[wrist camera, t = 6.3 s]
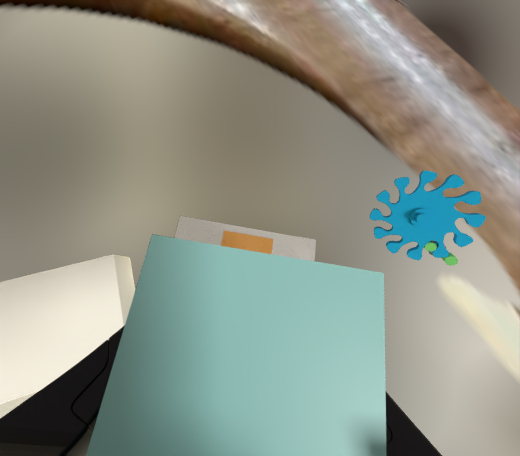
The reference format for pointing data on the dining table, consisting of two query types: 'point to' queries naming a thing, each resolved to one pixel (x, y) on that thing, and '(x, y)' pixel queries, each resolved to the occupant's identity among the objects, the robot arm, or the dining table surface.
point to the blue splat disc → (427, 217)
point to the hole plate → (245, 238)
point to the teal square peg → (246, 358)
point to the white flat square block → (59, 320)
